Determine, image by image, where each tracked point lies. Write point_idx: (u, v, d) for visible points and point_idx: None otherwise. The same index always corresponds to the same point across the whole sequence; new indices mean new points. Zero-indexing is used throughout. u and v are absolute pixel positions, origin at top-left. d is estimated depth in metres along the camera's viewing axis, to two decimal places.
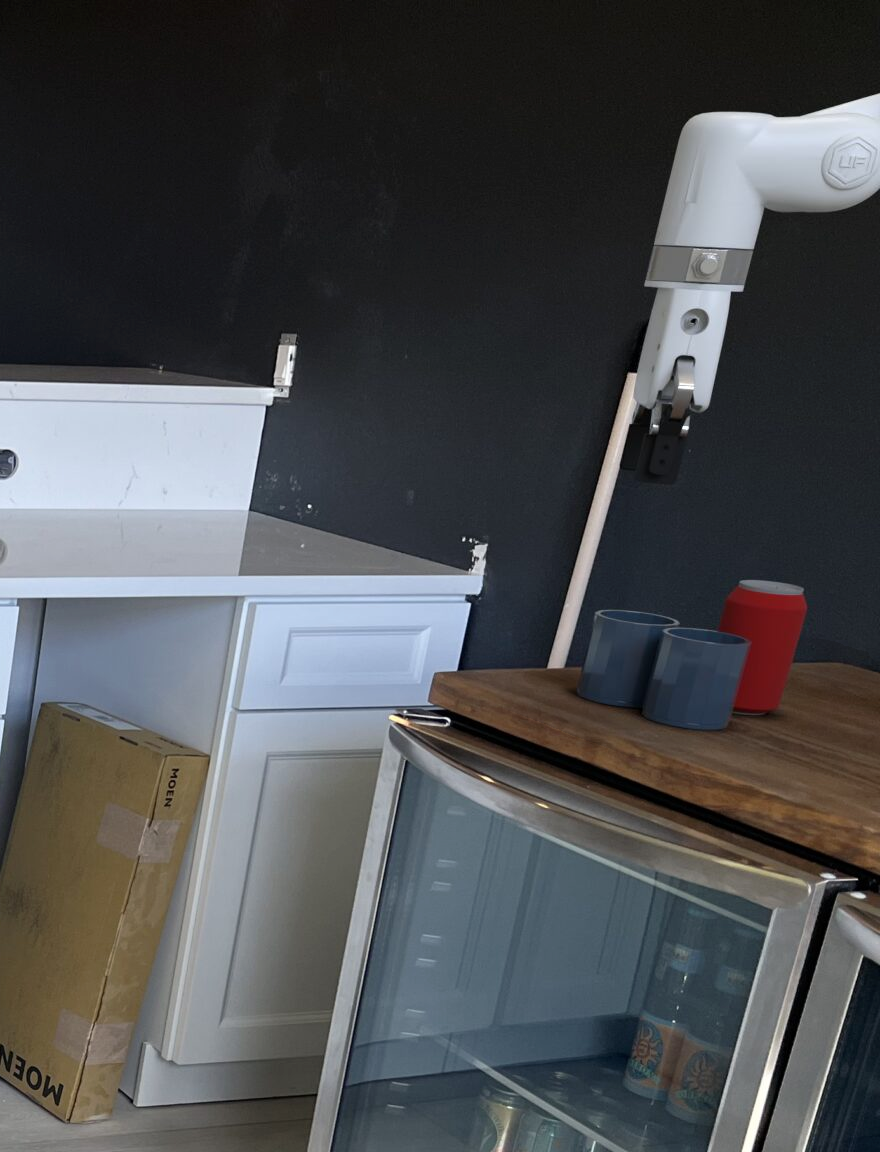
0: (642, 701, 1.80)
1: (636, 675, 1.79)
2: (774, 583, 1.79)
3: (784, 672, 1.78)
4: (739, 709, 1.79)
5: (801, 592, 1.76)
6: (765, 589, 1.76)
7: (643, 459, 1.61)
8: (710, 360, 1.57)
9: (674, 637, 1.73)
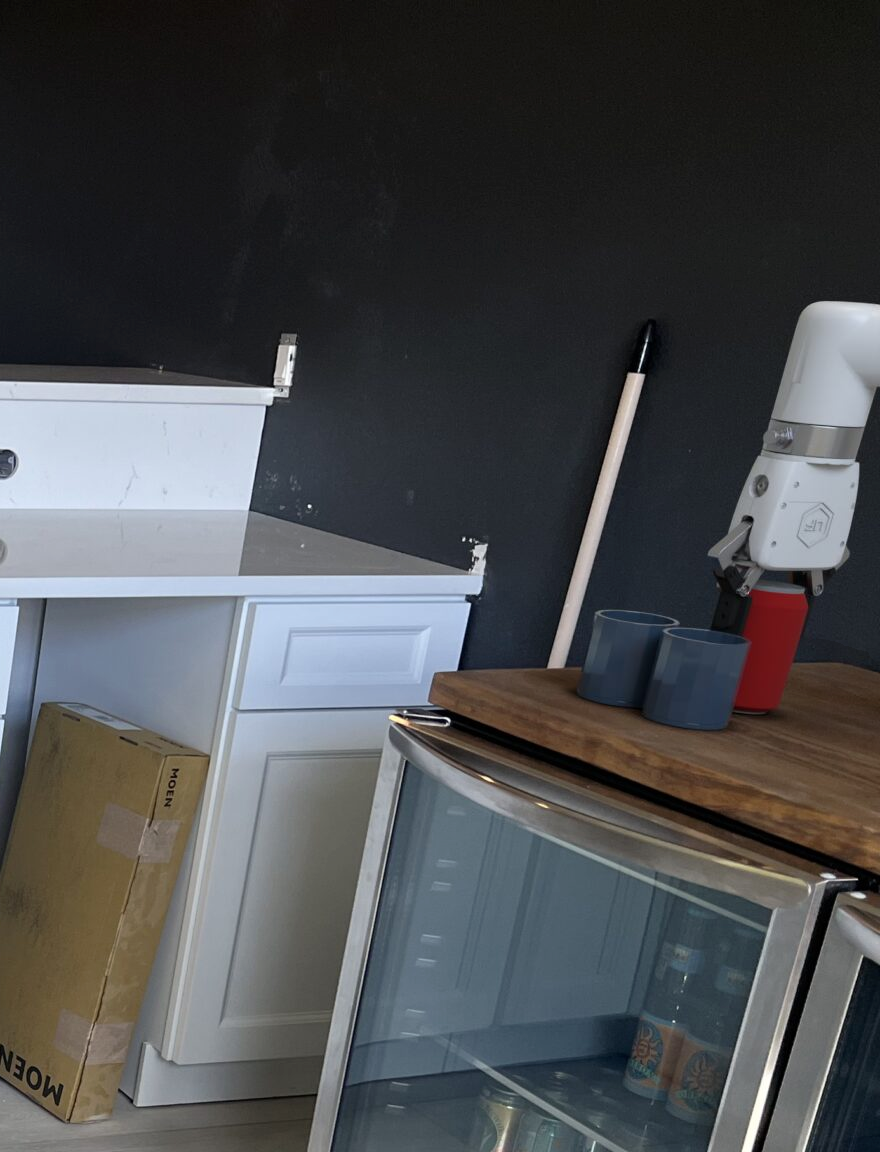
0: (642, 701, 1.80)
1: (636, 675, 1.79)
2: (775, 583, 1.79)
3: (785, 671, 1.78)
4: (740, 708, 1.79)
5: (802, 591, 1.76)
6: (766, 587, 1.76)
7: None
8: (765, 522, 1.72)
9: (674, 637, 1.73)
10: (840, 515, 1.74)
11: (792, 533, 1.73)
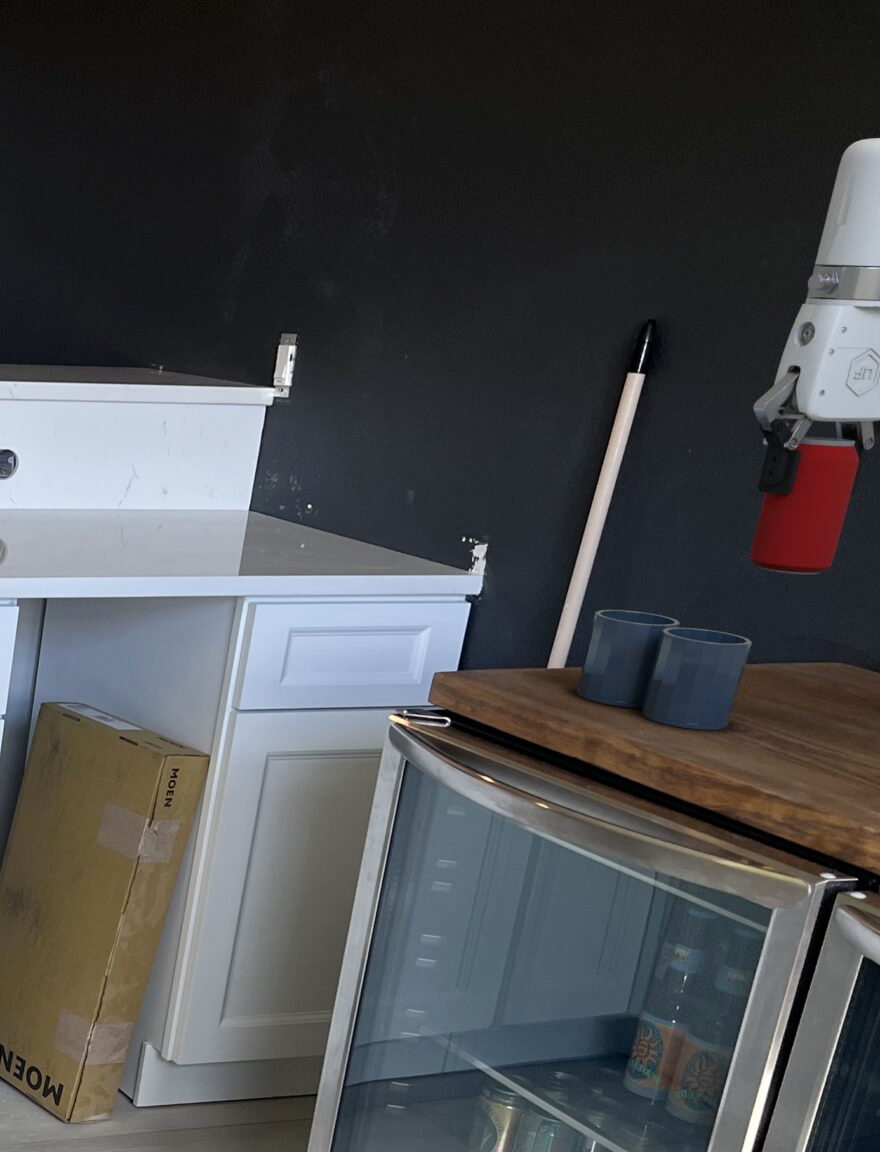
0: (642, 701, 1.80)
1: (636, 675, 1.79)
2: (823, 439, 1.74)
3: (837, 528, 1.72)
4: (791, 568, 1.74)
5: (853, 443, 1.70)
6: (815, 441, 1.70)
7: None
8: (812, 370, 1.67)
9: (674, 637, 1.73)
10: None
11: (841, 381, 1.67)
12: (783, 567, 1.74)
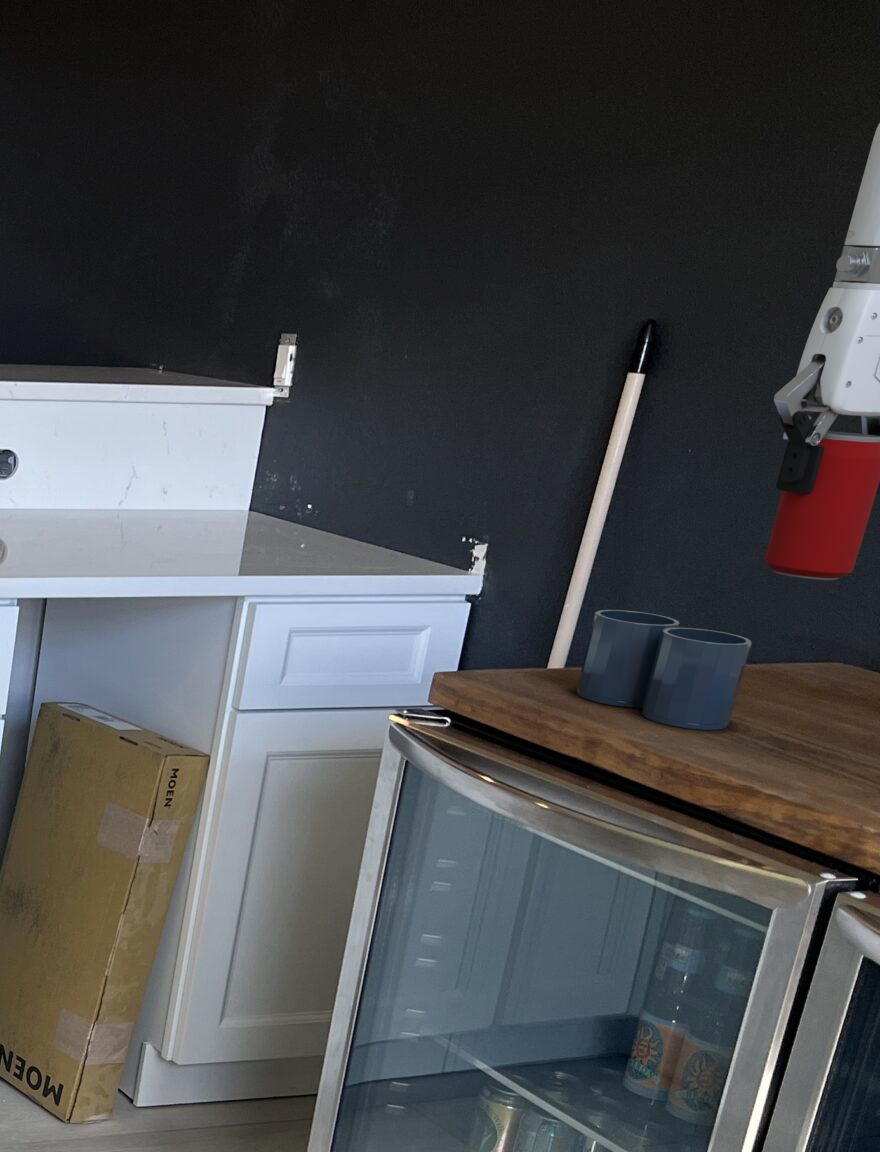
0: (642, 701, 1.80)
1: (636, 675, 1.79)
2: (848, 434, 1.62)
3: (860, 531, 1.60)
4: (809, 573, 1.61)
5: (879, 440, 1.58)
6: (839, 435, 1.58)
7: None
8: (838, 359, 1.55)
9: (674, 637, 1.73)
10: None
11: (869, 372, 1.55)
12: (801, 571, 1.62)
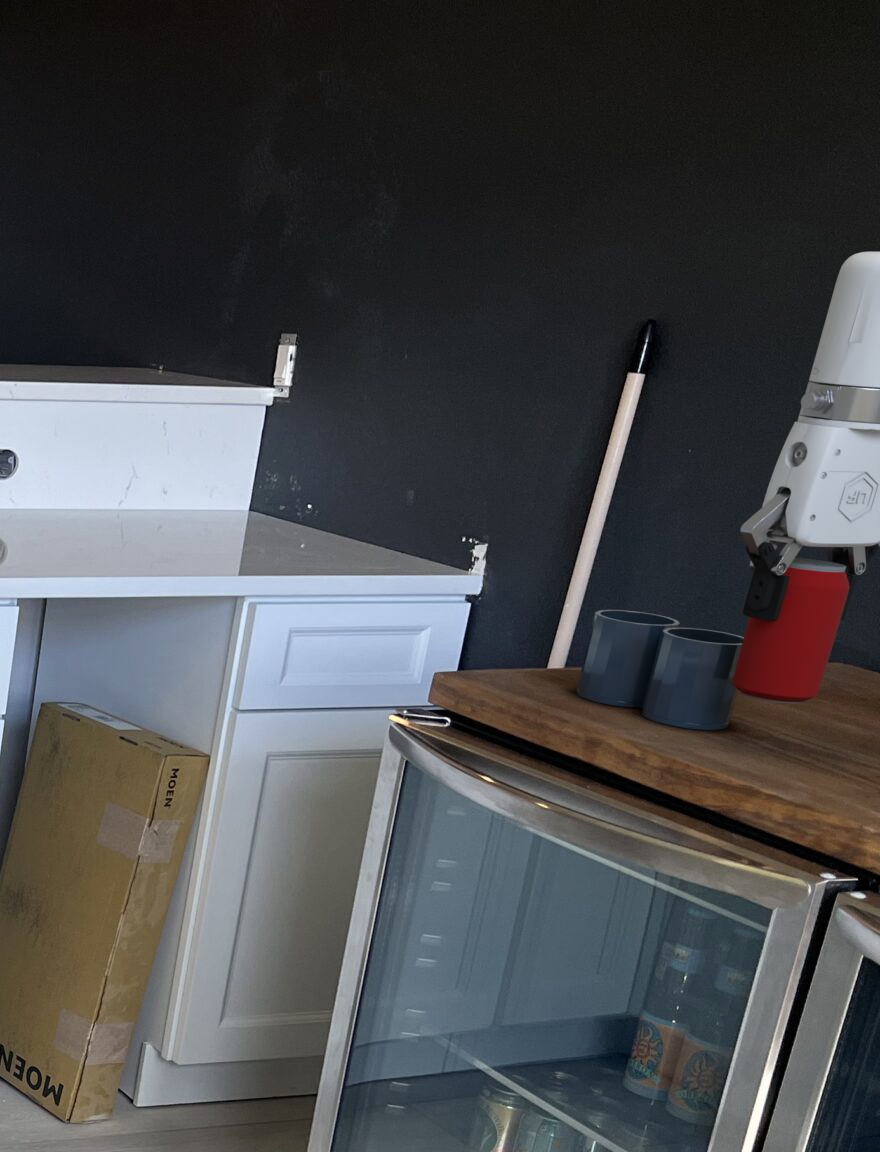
0: (642, 701, 1.80)
1: (636, 675, 1.79)
2: (813, 561, 1.65)
3: (824, 657, 1.63)
4: (775, 697, 1.65)
5: (843, 569, 1.61)
6: (804, 565, 1.61)
7: None
8: (803, 493, 1.58)
9: (674, 637, 1.73)
10: None
11: (833, 506, 1.58)
12: (767, 696, 1.65)
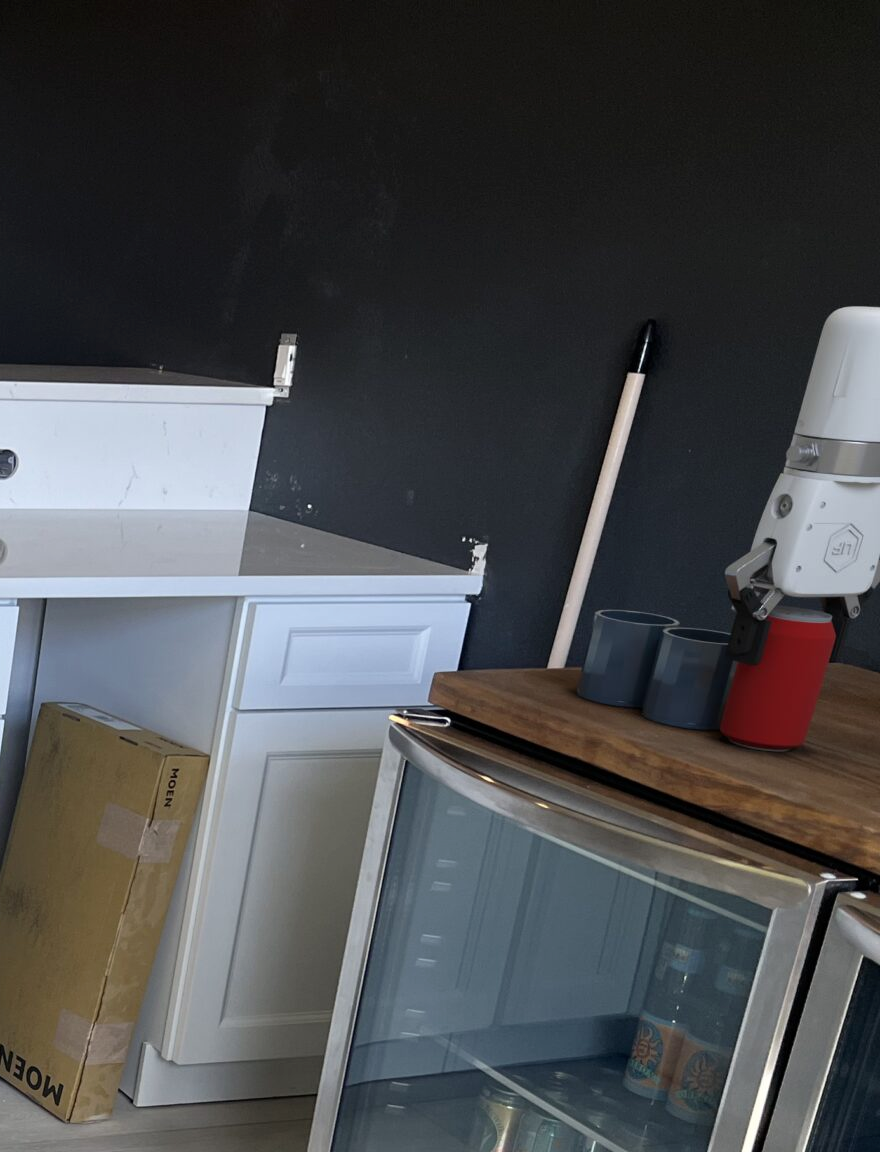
0: (642, 701, 1.80)
1: (636, 675, 1.79)
2: (800, 609, 1.66)
3: (811, 706, 1.65)
4: (762, 745, 1.66)
5: (829, 620, 1.63)
6: (790, 616, 1.63)
7: None
8: (789, 545, 1.59)
9: (674, 637, 1.73)
10: (870, 537, 1.61)
11: (818, 557, 1.60)
12: (754, 744, 1.67)
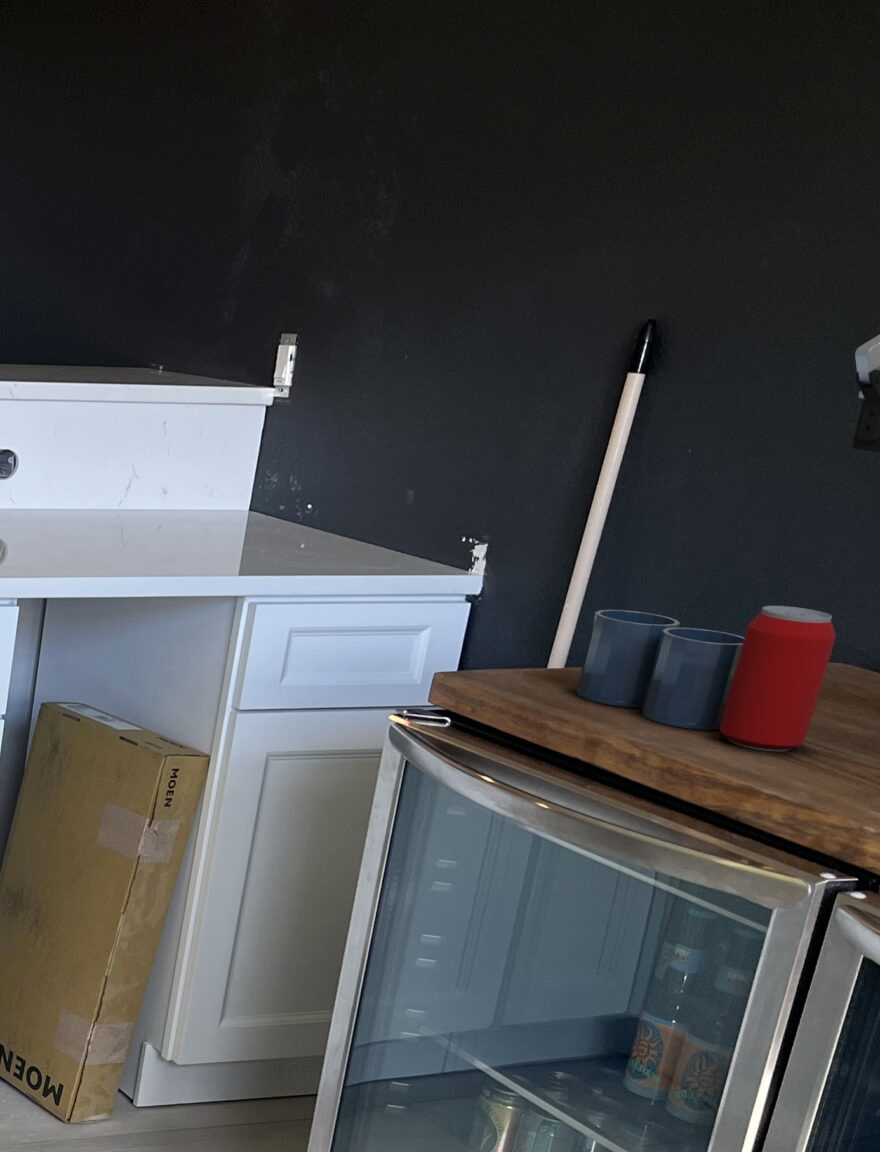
0: (642, 701, 1.80)
1: (636, 675, 1.79)
2: (799, 609, 1.66)
3: (810, 706, 1.65)
4: (762, 745, 1.66)
5: (829, 619, 1.63)
6: (790, 616, 1.63)
7: None
8: None
9: (674, 637, 1.73)
10: None
11: None
12: (754, 744, 1.67)
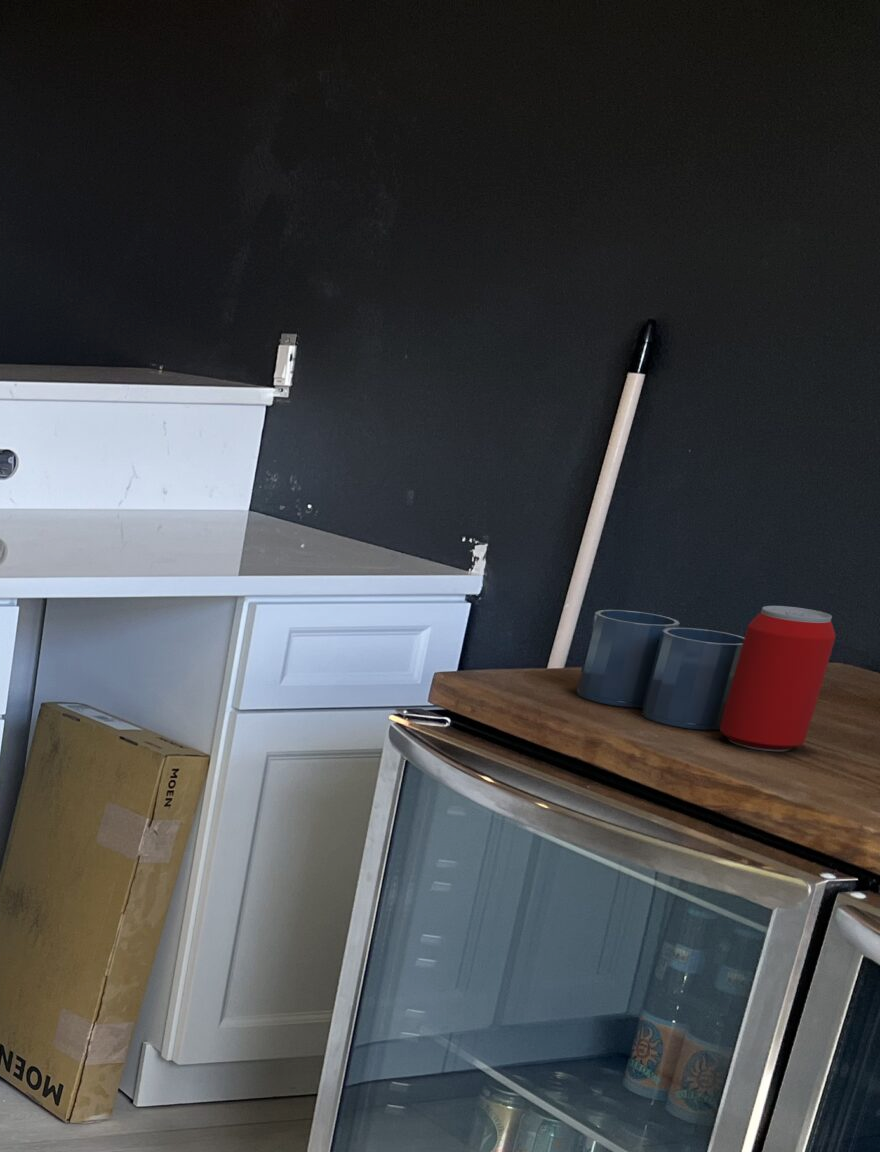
0: (642, 701, 1.80)
1: (636, 675, 1.79)
2: (799, 609, 1.66)
3: (810, 706, 1.65)
4: (762, 745, 1.66)
5: (829, 619, 1.63)
6: (790, 616, 1.63)
7: None
8: None
9: (674, 637, 1.73)
10: None
11: None
12: (754, 744, 1.67)
